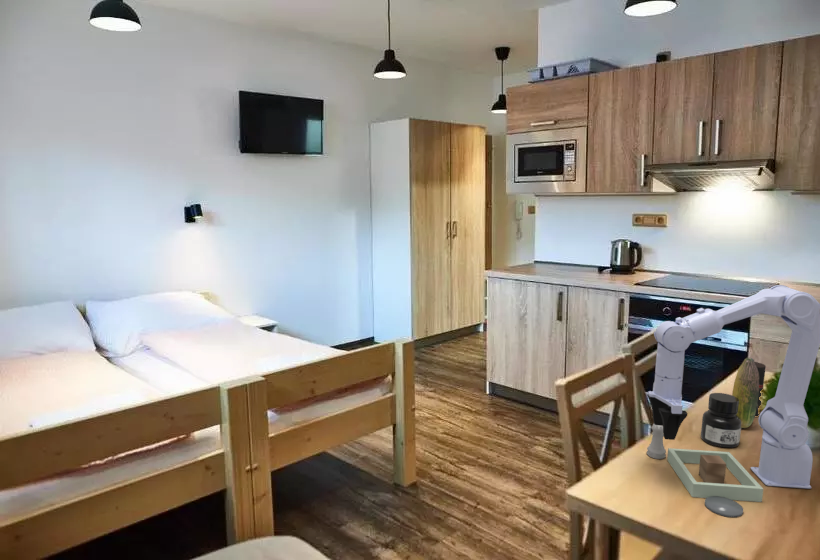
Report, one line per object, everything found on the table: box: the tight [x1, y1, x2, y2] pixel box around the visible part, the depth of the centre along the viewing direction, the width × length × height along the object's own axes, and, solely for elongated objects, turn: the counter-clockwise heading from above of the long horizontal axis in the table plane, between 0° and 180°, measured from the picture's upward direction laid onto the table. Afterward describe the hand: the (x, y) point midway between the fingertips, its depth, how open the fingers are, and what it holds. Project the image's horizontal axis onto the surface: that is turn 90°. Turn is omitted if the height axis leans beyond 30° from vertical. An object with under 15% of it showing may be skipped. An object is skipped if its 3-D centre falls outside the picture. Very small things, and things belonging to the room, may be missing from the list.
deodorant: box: [741, 361, 767, 416], centre depth 168 cm, size 6×6×15 cm
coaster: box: [704, 496, 744, 518], centre depth 119 cm, size 7×7×1 cm
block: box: [698, 455, 727, 484], centre depth 130 cm, size 4×4×5 cm
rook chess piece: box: [646, 423, 667, 460], centre depth 142 cm, size 4×4×8 cm
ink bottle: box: [700, 392, 742, 449], centre depth 150 cm, size 10×9×12 cm
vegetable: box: [731, 357, 759, 429], centre depth 159 cm, size 6×6×20 cm
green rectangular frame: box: [666, 447, 764, 503], centre depth 131 cm, size 14×17×3 cm
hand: (664, 431), depth 132 cm, fingers open, 7 cm apart
